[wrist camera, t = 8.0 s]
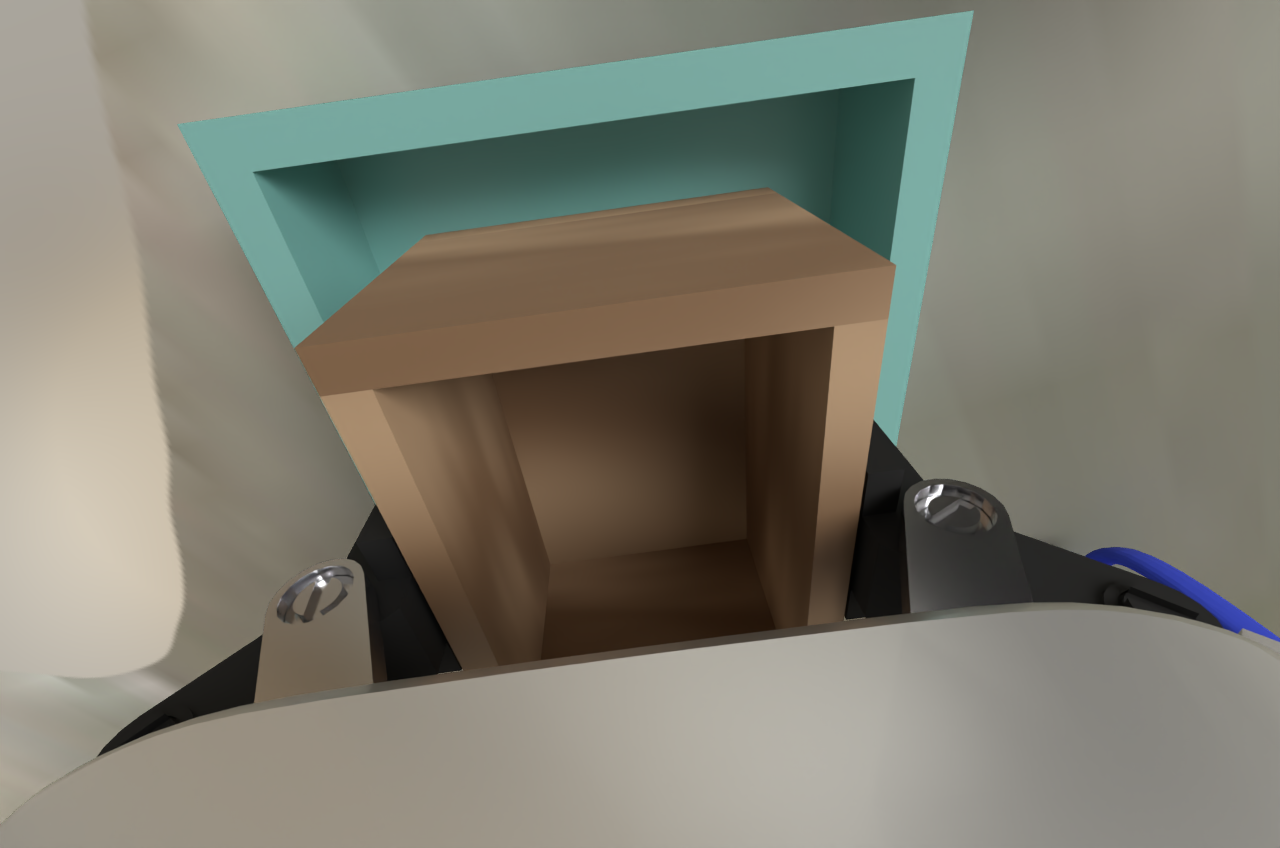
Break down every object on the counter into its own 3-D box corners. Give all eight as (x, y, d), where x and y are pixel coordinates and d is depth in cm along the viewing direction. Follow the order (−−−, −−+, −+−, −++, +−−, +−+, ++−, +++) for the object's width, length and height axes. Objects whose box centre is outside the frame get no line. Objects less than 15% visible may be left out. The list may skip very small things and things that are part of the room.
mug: (1171, 490, 25) (1461, 693, 17) (1056, 646, 32) (1224, 849, 23) (1008, 494, 24) (1224, 706, 16) (925, 652, 31) (1048, 863, 22)
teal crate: (828, 443, 22) (881, 526, 18) (452, 495, 22) (419, 589, 18) (865, 33, 15) (973, 10, 10) (297, 114, 15) (177, 124, 10)
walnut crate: (763, 535, 15) (829, 717, 10) (535, 565, 15) (509, 758, 10) (767, 187, 10) (897, 265, 5) (425, 235, 10) (293, 348, 6)
